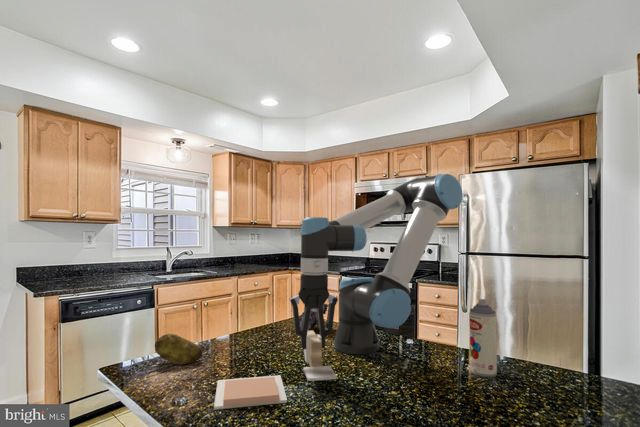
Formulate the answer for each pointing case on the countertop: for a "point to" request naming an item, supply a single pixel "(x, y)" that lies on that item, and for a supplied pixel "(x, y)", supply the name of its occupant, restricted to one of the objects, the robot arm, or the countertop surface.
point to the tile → (250, 391)
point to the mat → (220, 397)
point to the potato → (177, 349)
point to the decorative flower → (313, 318)
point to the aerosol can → (483, 340)
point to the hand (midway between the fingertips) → (312, 360)
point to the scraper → (317, 361)
